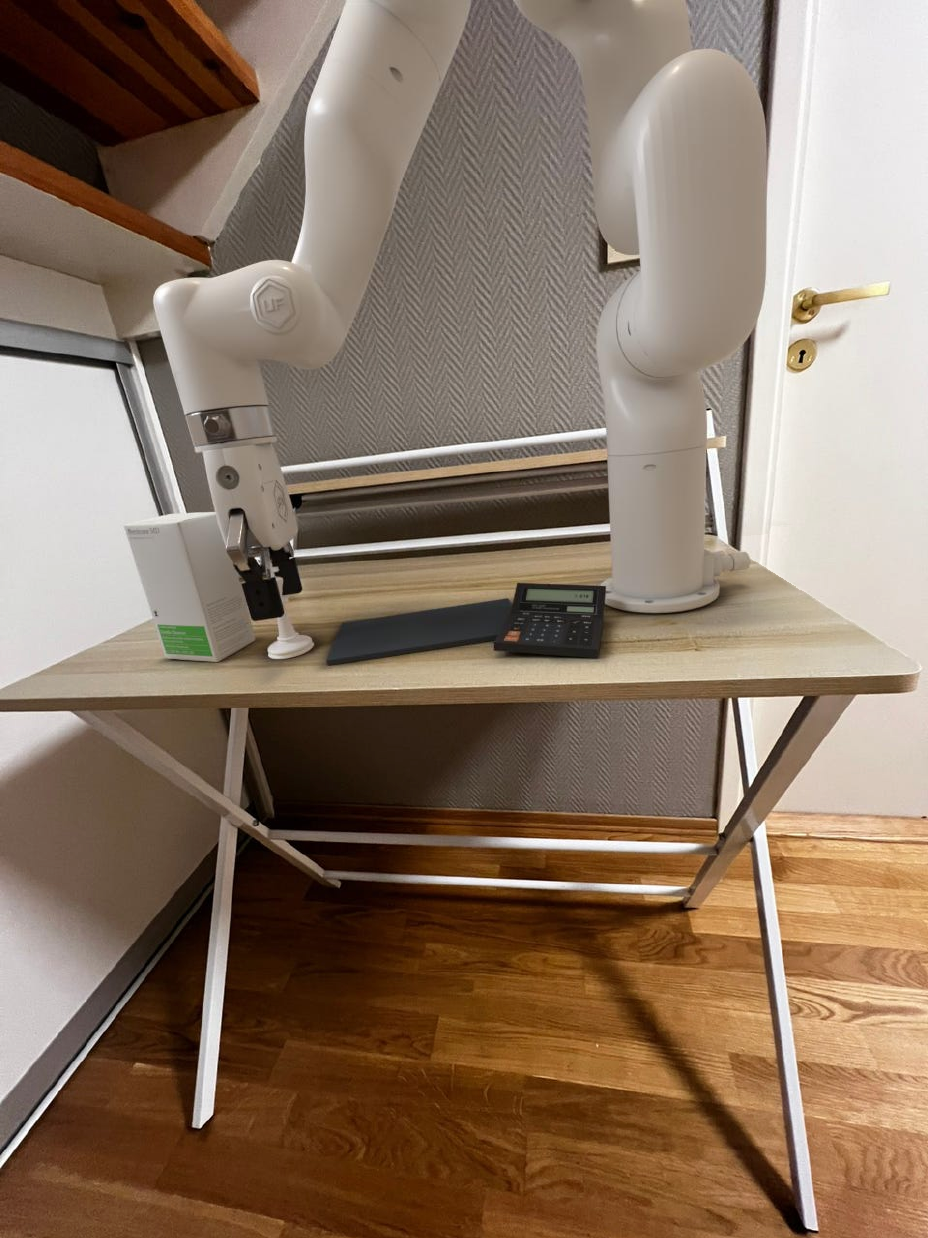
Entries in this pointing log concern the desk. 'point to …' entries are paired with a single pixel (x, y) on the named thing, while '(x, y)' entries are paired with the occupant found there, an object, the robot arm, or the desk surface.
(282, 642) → the chess piece
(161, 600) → the cosmetic box
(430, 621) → the desk mat
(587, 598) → the calculator
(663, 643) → the desk surface
